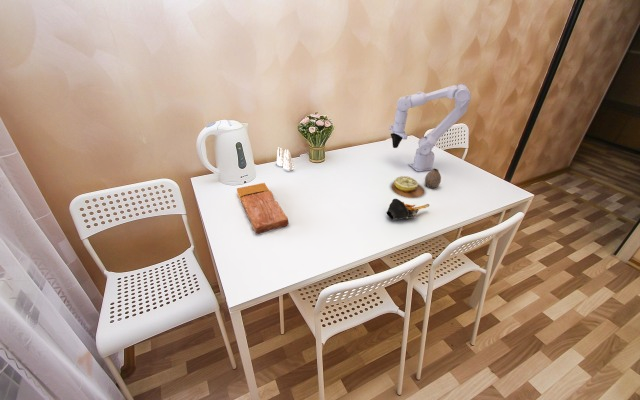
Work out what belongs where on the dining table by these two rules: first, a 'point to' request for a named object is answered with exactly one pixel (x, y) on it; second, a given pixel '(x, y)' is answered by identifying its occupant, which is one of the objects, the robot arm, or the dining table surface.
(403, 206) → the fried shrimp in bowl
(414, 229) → the dining table surface
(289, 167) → the shaker set
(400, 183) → the decorated donut
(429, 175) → the vase
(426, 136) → the robot arm
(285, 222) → the brown wooden board
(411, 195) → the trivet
